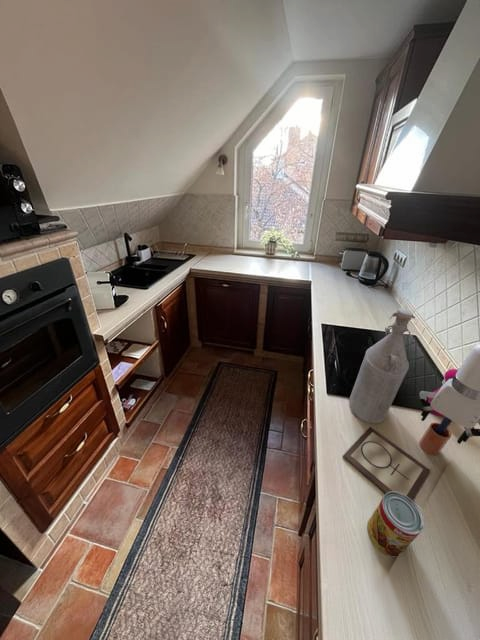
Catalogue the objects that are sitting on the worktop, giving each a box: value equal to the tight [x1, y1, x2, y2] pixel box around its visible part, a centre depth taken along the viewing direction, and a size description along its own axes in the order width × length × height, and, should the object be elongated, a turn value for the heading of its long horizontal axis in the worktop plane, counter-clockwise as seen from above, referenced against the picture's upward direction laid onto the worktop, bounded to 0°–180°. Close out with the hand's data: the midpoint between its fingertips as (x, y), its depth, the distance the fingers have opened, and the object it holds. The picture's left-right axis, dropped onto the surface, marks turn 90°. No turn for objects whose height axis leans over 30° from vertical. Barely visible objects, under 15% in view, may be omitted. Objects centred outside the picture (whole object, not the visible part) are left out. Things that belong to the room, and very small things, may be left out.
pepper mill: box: [428, 367, 460, 417], centre depth 87 cm, size 7×7×20 cm
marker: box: [435, 416, 453, 436], centre depth 76 cm, size 2×2×13 cm
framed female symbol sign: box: [342, 426, 431, 502], centre depth 74 cm, size 18×16×1 cm
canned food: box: [366, 491, 425, 557], centre depth 57 cm, size 8×8×12 cm
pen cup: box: [418, 422, 452, 456], centre depth 77 cm, size 5×5×9 cm
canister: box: [348, 307, 416, 424], centre depth 82 cm, size 13×17×40 cm
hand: (441, 428), depth 74 cm, fingers open, 8 cm apart
